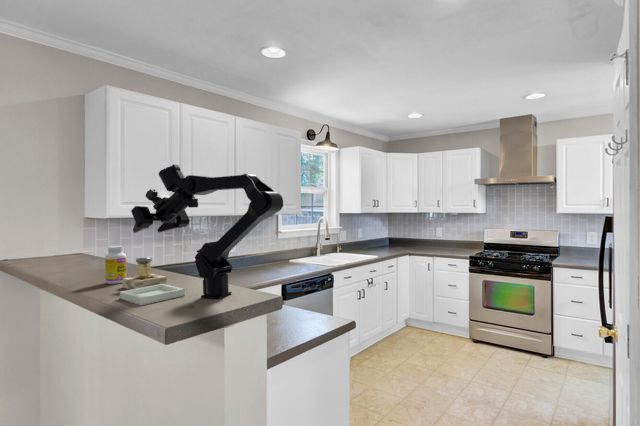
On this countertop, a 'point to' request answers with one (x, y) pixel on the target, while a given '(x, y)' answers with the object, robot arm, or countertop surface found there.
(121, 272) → the supplement bottle
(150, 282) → the wooden square frame
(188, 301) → the countertop surface
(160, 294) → the tray
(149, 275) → the spice jar
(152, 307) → the countertop surface
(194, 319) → the countertop surface
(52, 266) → the countertop surface
